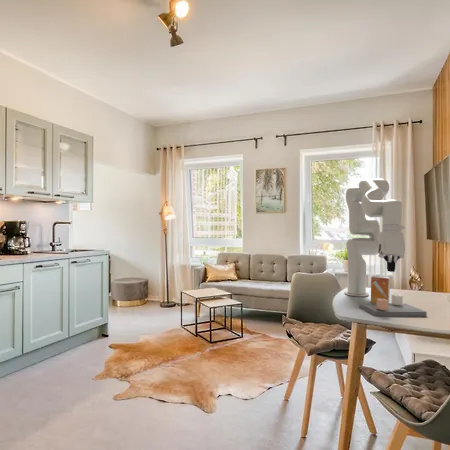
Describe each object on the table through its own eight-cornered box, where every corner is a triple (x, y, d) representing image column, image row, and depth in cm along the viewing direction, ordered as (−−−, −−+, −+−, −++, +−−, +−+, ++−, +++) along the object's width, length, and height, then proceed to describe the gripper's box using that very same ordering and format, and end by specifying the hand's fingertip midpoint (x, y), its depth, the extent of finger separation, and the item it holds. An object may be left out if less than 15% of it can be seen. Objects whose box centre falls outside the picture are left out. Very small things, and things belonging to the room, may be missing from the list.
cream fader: (391, 303, 164) (391, 294, 164) (397, 303, 164) (397, 294, 164) (396, 304, 160) (396, 295, 160) (402, 304, 160) (402, 295, 160)
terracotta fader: (376, 307, 154) (376, 298, 154) (383, 307, 154) (383, 298, 154) (381, 309, 150) (381, 300, 150) (388, 310, 150) (388, 300, 150)
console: (359, 307, 164) (359, 303, 164) (405, 307, 165) (405, 303, 165) (375, 316, 148) (375, 311, 148) (426, 316, 149) (426, 311, 149)
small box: (370, 303, 175) (370, 276, 175) (372, 300, 180) (372, 275, 180) (388, 305, 171) (388, 278, 171) (389, 302, 176) (390, 276, 176)
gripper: (403, 228, 156) (403, 270, 156) (370, 228, 155) (370, 270, 156) (413, 229, 149) (412, 272, 149) (379, 228, 148) (378, 272, 148)
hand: (391, 271), depth 152 cm, fingers closed
